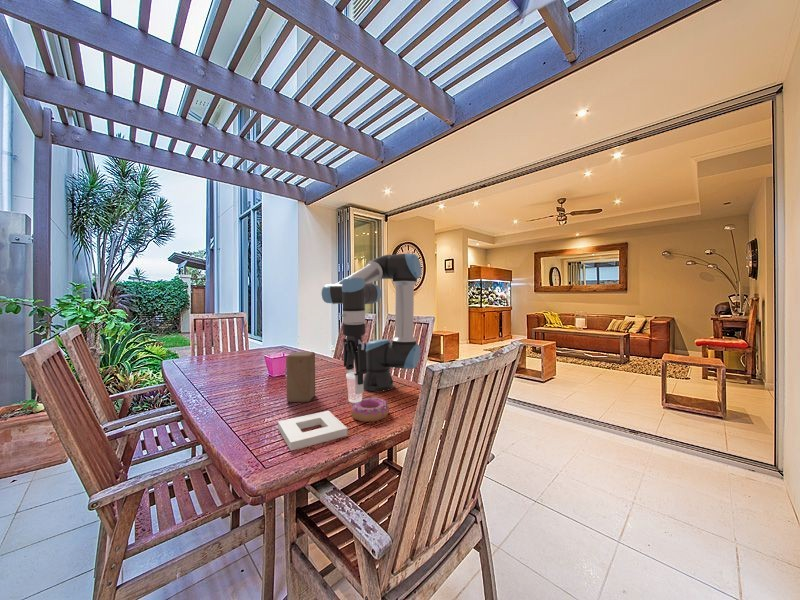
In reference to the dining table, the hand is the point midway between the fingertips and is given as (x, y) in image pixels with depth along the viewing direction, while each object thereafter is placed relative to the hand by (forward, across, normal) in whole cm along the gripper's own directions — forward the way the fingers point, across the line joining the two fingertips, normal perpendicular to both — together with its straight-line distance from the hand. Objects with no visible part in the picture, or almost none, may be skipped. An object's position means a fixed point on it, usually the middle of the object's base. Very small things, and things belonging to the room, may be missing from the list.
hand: (355, 390), depth 107 cm
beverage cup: (+4, 0, 0) cm, 4 cm away
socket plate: (+13, -6, -14) cm, 20 cm away
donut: (+14, -8, +10) cm, 19 cm away
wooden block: (+14, -41, -8) cm, 44 cm away
